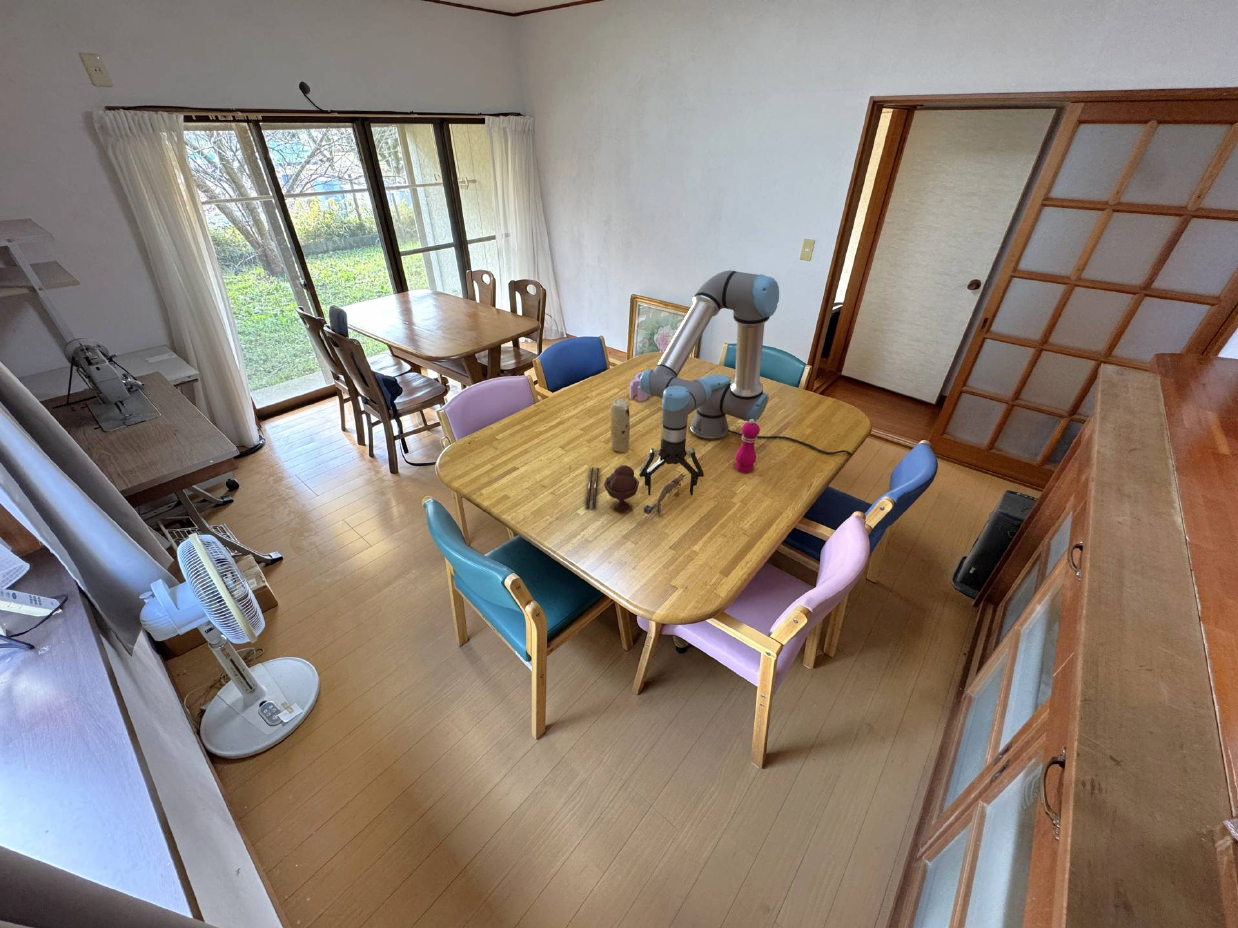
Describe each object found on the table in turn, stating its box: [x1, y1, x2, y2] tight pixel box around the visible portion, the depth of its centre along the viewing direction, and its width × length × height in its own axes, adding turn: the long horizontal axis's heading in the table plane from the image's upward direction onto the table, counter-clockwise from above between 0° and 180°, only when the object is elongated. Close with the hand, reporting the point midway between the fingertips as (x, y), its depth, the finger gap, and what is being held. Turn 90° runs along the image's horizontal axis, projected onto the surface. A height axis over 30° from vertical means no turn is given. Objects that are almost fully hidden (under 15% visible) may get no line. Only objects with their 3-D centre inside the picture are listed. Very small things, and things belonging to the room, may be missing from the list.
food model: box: [610, 397, 631, 453], centre depth 180 cm, size 10×7×20 cm
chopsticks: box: [585, 467, 599, 510], centre depth 164 cm, size 3×23×1 cm, turn 179°
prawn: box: [643, 471, 690, 516], centre depth 156 cm, size 25×12×7 cm, turn 144°
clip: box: [629, 371, 653, 402], centre depth 225 cm, size 20×12×7 cm, turn 148°
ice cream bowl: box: [603, 464, 640, 513], centre depth 151 cm, size 11×11×15 cm
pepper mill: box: [734, 419, 761, 474], centre depth 168 cm, size 7×7×20 cm
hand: (670, 492), depth 156 cm, fingers open, 13 cm apart
